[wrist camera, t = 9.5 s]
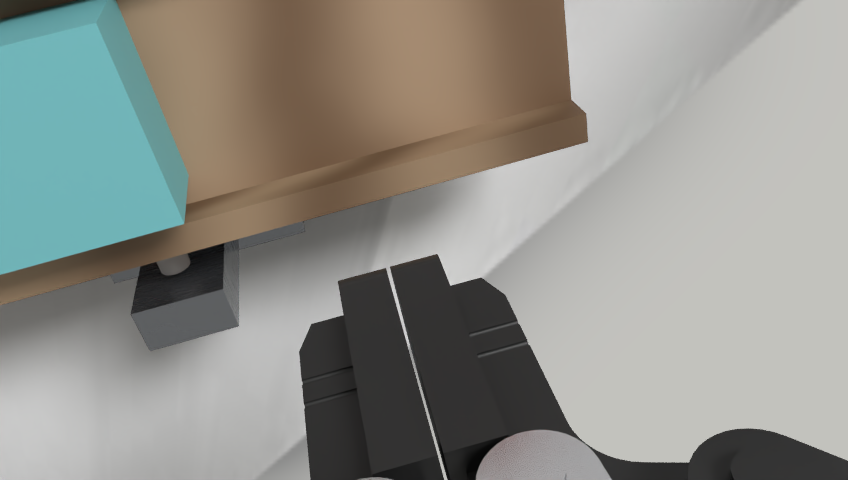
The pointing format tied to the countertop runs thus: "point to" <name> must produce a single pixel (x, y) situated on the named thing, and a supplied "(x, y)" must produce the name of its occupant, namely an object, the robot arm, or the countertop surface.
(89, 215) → the teal block
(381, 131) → the beam
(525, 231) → the countertop surface
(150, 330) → the pivot stand
